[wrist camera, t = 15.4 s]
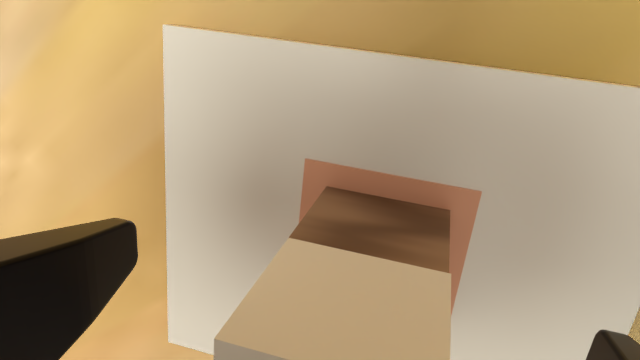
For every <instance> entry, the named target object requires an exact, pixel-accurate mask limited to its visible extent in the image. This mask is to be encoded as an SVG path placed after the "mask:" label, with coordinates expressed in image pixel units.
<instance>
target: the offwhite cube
mask: <svg viewBox="0 0 640 360" xmlns="http://www.w3.org/2000/svg"><path fill="white" fill-rule="evenodd" d="M450 342H451V274H450V273H446V272H441V271H437V270H432V269H428V268H423V267H418V266H414V265H409V264H405V263H400V262H396V261H391V260H387V259H382V258H378V257H373V256H369V255H364V254H360V253H355V252H351V251H346V250H342V249H337V248H333V247H328V246H324V245H319V244H315V243H310V242H306V241H301V240H297V239H292V238H288V239H287V241H286V242H285V243H284V245H283V246H282V247H281V249H280V250H279V251H278V253H277V254H276V255H275V257H274V258H273V259H272V261H271V262H270V264H269V265H268V266H267V268H266V269H265V270H264V272H263V273H262V274H261V276H260V277H259V278H258V280H257V281H256V282H255V284H254V285H253V287H252V288H251V289H250V291H249V292H248V293H247V295H246V296H245V297H244V299H243V300H242V301H241V303H240V304H239V305H238V307H237V308H236V310H235V311H234V312H233V314H232V315H231V316H230V318H229V319H228V320H227V322H226V323H225V324H224V326H223V327H222V328H221V330H220V331H219V333H218V334H217V335H216V337H215V338H214V360H450Z"/></svg>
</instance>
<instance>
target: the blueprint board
mask: <svg viewBox="0 0 640 360" xmlns="http://www.w3.org/2000/svg"><path fill="white" fill-rule="evenodd" d="M163 66H164V125H165V183H166V242H167V300H168V342H170V343H174V344H177V345H180V346H184V347H187V348H191V349H194V350H198V351H201V352H204V353H208V354H211V355H214V338H215V337H216V335H217V334H218V333H219V331H220V330H221V328H222V327H223V326H224V324H225V323H226V322H227V320H228V319H229V318H230V316H231V315H232V314H233V312H234V311H235V310H236V308H237V307H238V305H239V304H240V303H241V301H242V300H243V299H244V297H245V296H246V295H247V293H248V292H249V291H250V289H251V288H252V287H253V285H254V284H255V282H256V281H257V280H258V278H259V277H260V276H261V274H262V273H263V272H264V270H265V269H266V268H267V266H268V265H269V264H270V262H271V261H272V259H273V258H274V257H275V255H276V254H277V253H278V251H279V250H280V249H281V247H282V246H283V245H284V243H285V242H286V241H287V239H288V238H289V236H290V235H291V234H292V232H293V231H294V229H295V228H296V227H297V225H298V224H299V223H300V221H301V220H302V219H303V217H304V216H305V215H306V213H307V212H308V211H309V209H310V208H311V207H312V205H313V204H314V202H315V201H316V200H317V198H318V197H319V196H320V194H321V193H322V192H323V190H324V189H325V188H326V186H328V187H333V188H339V189H344V190H349V191H354V192H359V193H364V194H370V195H375V196H380V197H385V198H390V199H395V200H401V201H406V202H411V203H416V204H421V205H426V206H431V207H437V208H442V209H447V210H450V255H449V273H450V274H451V342H450V360H586V358H587V355H588V352H589V350H590V347H591V344H592V342H593V339H594V337H595V335H596V333H597V332H598V331H599V330H602V329H604V330H609V331H613V332H618V333H622V334H625V335H628V334H629V331H630V329H631V327H632V324H633V322H634V319H635V317H636V315H637V312H638V310H639V308H640V86H632V85H624V84H617V83H609V82H602V81H594V80H587V79H579V78H572V77H564V76H557V75H549V74H542V73H534V72H526V71H519V70H511V69H504V68H496V67H489V66H481V65H474V64H466V63H459V62H451V61H444V60H436V59H428V58H421V57H413V56H406V55H398V54H391V53H383V52H376V51H368V50H361V49H353V48H346V47H338V46H330V45H323V44H315V43H308V42H300V41H293V40H285V39H278V38H270V37H263V36H255V35H248V34H240V33H232V32H225V31H217V30H210V29H202V28H195V27H187V26H180V25H172V24H167V25H163Z"/></svg>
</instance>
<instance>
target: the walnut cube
mask: <svg viewBox="0 0 640 360" xmlns="http://www.w3.org/2000/svg"><path fill="white" fill-rule="evenodd" d="M289 238H292V239H297V240H301V241H306V242H310V243H315V244H319V245H324V246H328V247H333V248H337V249H342V250H346V251H351V252H355V253H360V254H364V255H369V256H373V257H378V258H382V259H387V260H391V261H396V262H400V263H405V264H409V265H414V266H418V267H423V268H428V269H432V270H437V271H441V272H446V273H449V255H450V210H447V209H442V208H437V207H431V206H426V205H421V204H416V203H411V202H406V201H401V200H395V199H390V198H385V197H380V196H375V195H370V194H364V193H359V192H354V191H349V190H344V189H339V188H333V187H328V186H326V188H325V189H324V190H323V192H322V193H321V194H320V196H319V197H318V198H317V200H316V201H315V202H314V204H313V205H312V207H311V208H310V209H309V211H308V212H307V213H306V215H305V216H304V217H303V219H302V220H301V221H300V223H299V224H298V225H297V227H296V228H295V229H294V231H293V232H292V234H291V235H290V236H289Z"/></svg>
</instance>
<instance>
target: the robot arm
mask: <svg viewBox="0 0 640 360" xmlns="http://www.w3.org/2000/svg"><path fill="white" fill-rule="evenodd" d="M137 258H138V250H137V233H136V226H135V224H134V223H133V222H131V221H128V220H124V219H119V218H111V219H106V220H101V221H95V222H90V223H85V224H80V225H74V226H69V227H64V228H58V229H53V230H48V231H42V232H37V233H32V234H27V235H21V236H16V237H11V238H5V239H0V360H59V359H60V358H61V357H62V356H63V355H64V354H65V353H66V351H67V350H68V349H69V348H70V347H71V346H72V345H73V344H74V343H75V342H76V341H77V339H78V338H79V337H80V336H81V335H82V334H83V333H84V332H85V331H86V329H87V328H88V327H89V326H90V325H91V324H92V323H93V321H94V320H95V319H96V317H97V316H98V315H99V314H100V312H101V311H102V310H103V308H104V307H105V306H106V304H107V303H108V302H109V300H110V299H111V298H112V296H113V295H114V294H115V292H116V291H117V290H118V288H119V287H120V286H121V284H122V283H123V282H124V280H125V279H126V278H127V277H128V275H129V274H130V273H131V271H132V270H133V268H134V267H135V265H136V262H137ZM586 360H640V344H638V343H637V342H636V341H634V340H633V339H632V338H631V337H629V336H628V335H625V334H622V333H618V332H613V331H609V330H604V329H602V330H599V331H598V332H597V333H596V335H595V337H594V339H593V342H592V344H591V347H590V350H589V352H588V355H587V358H586Z"/></svg>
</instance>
